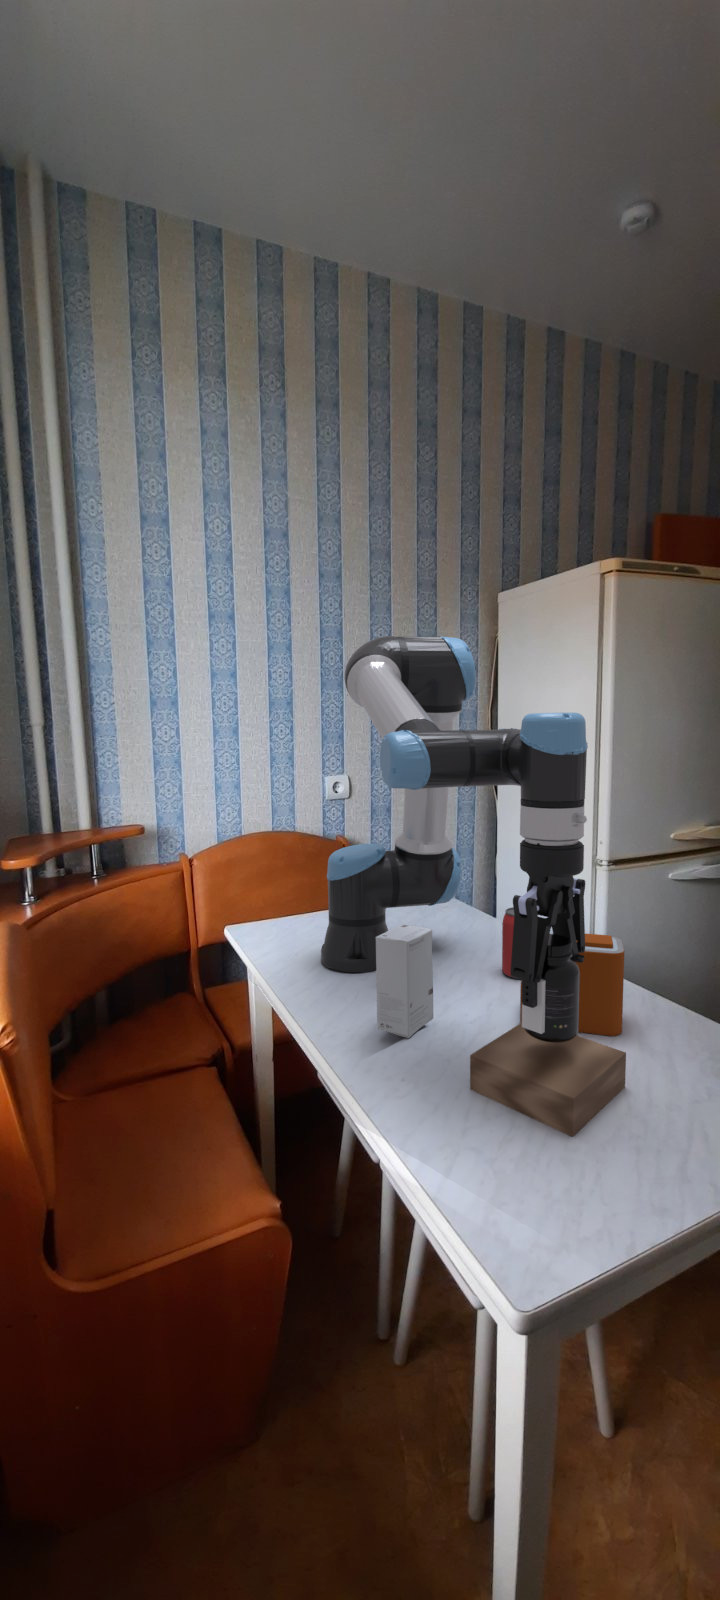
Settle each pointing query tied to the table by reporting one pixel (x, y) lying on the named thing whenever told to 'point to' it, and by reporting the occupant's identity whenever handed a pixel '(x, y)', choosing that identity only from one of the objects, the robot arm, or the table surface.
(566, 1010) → the supplement bottle
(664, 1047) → the table surface
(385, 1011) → the skincare box
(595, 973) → the alarm clock
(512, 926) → the beer can
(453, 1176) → the table surface
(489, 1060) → the walnut block
